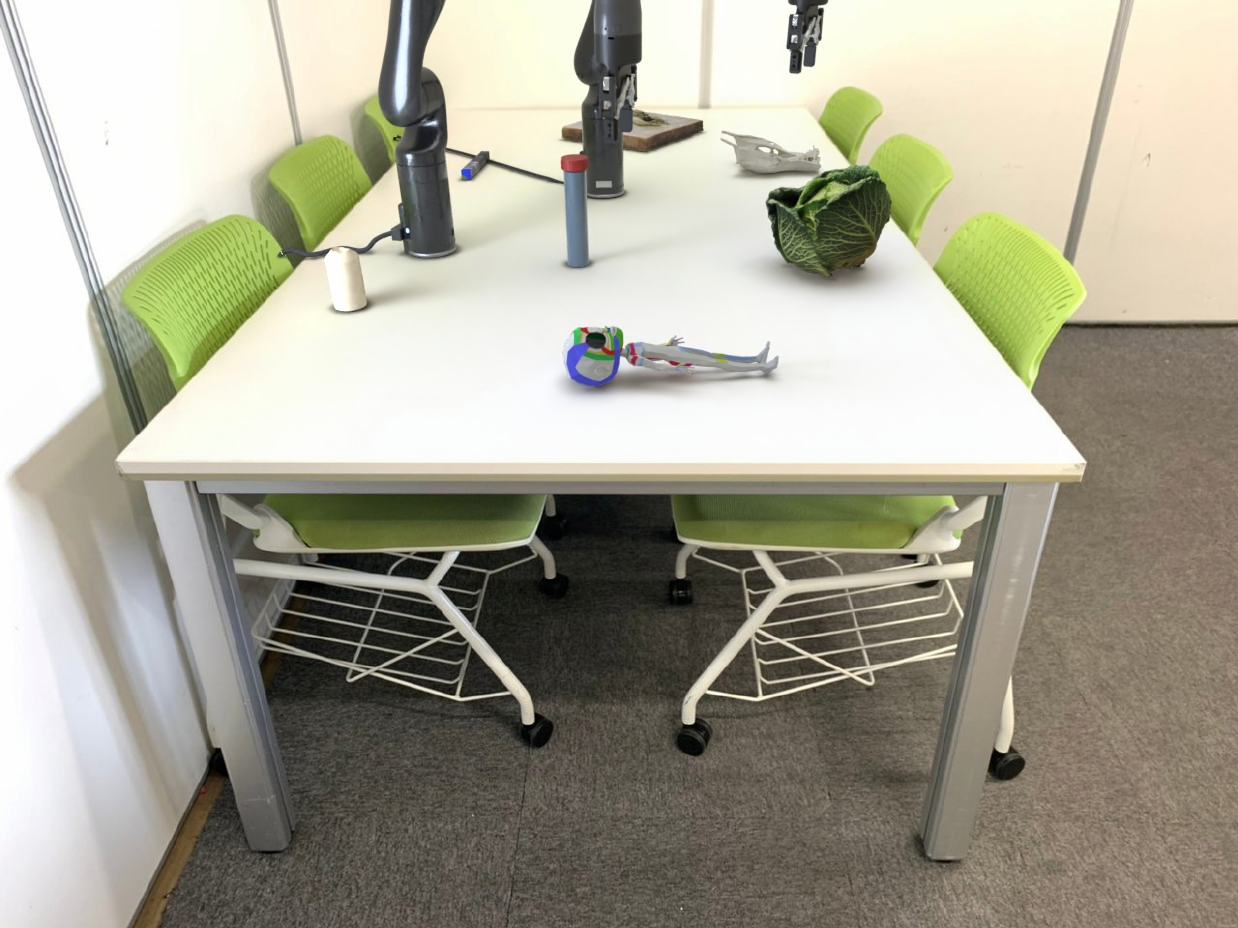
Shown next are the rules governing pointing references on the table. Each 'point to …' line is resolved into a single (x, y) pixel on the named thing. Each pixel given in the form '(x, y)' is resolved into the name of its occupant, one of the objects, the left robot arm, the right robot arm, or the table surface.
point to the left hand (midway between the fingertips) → (619, 137)
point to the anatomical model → (770, 155)
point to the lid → (574, 163)
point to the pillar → (475, 165)
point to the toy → (644, 356)
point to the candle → (345, 279)
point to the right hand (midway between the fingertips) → (802, 70)
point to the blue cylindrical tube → (576, 218)
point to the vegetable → (830, 219)
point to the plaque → (647, 130)
